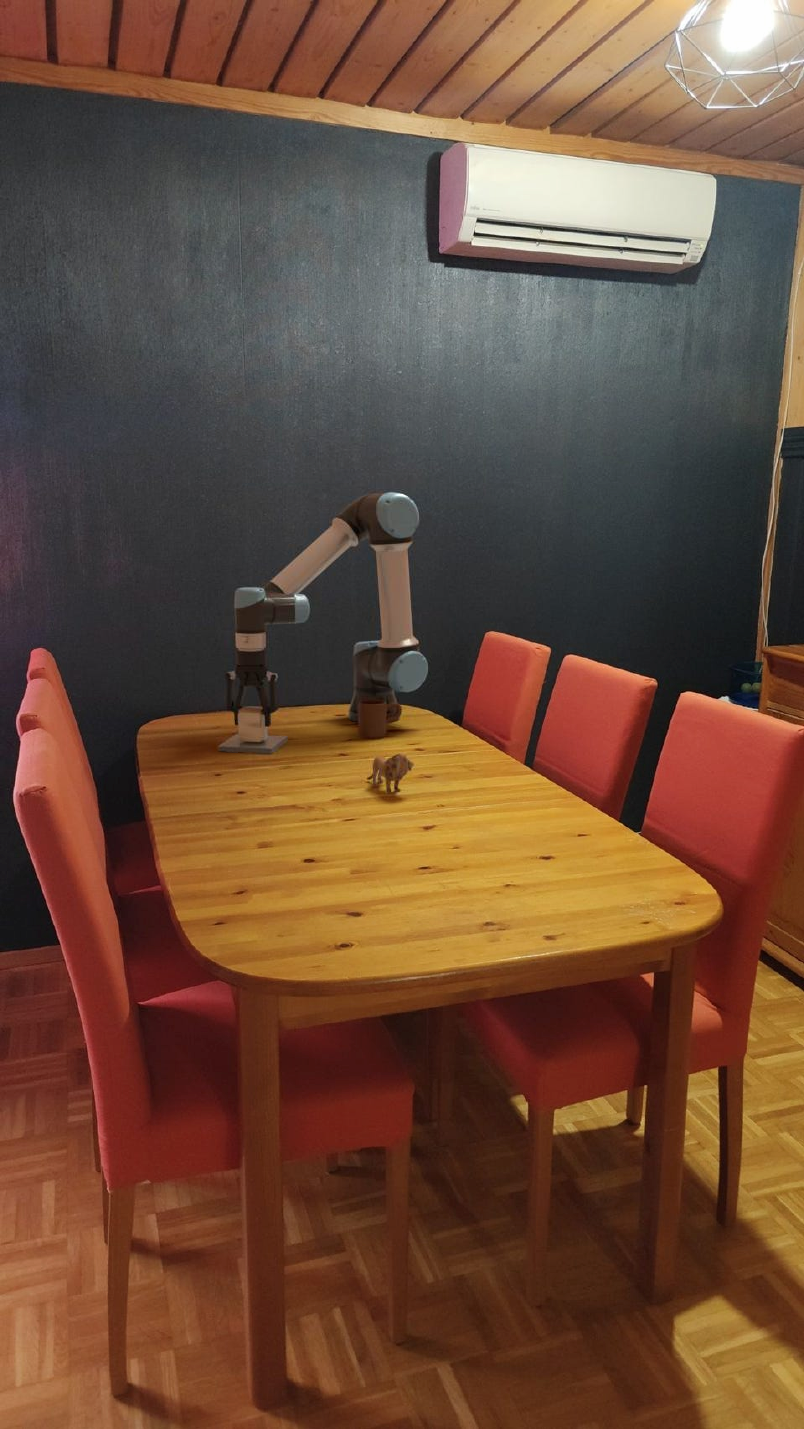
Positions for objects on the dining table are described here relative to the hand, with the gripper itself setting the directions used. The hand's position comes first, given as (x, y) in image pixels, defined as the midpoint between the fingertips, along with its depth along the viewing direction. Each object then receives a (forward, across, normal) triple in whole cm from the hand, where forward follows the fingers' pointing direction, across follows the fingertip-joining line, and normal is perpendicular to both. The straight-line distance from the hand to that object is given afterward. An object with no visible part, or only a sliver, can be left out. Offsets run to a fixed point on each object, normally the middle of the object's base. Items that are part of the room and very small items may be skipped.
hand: (253, 738), depth 248 cm
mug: (+2, +30, +18) cm, 35 cm away
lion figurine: (+2, +42, -32) cm, 53 cm away
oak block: (0, 0, 0) cm, 0 cm away
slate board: (+2, 0, 0) cm, 2 cm away
